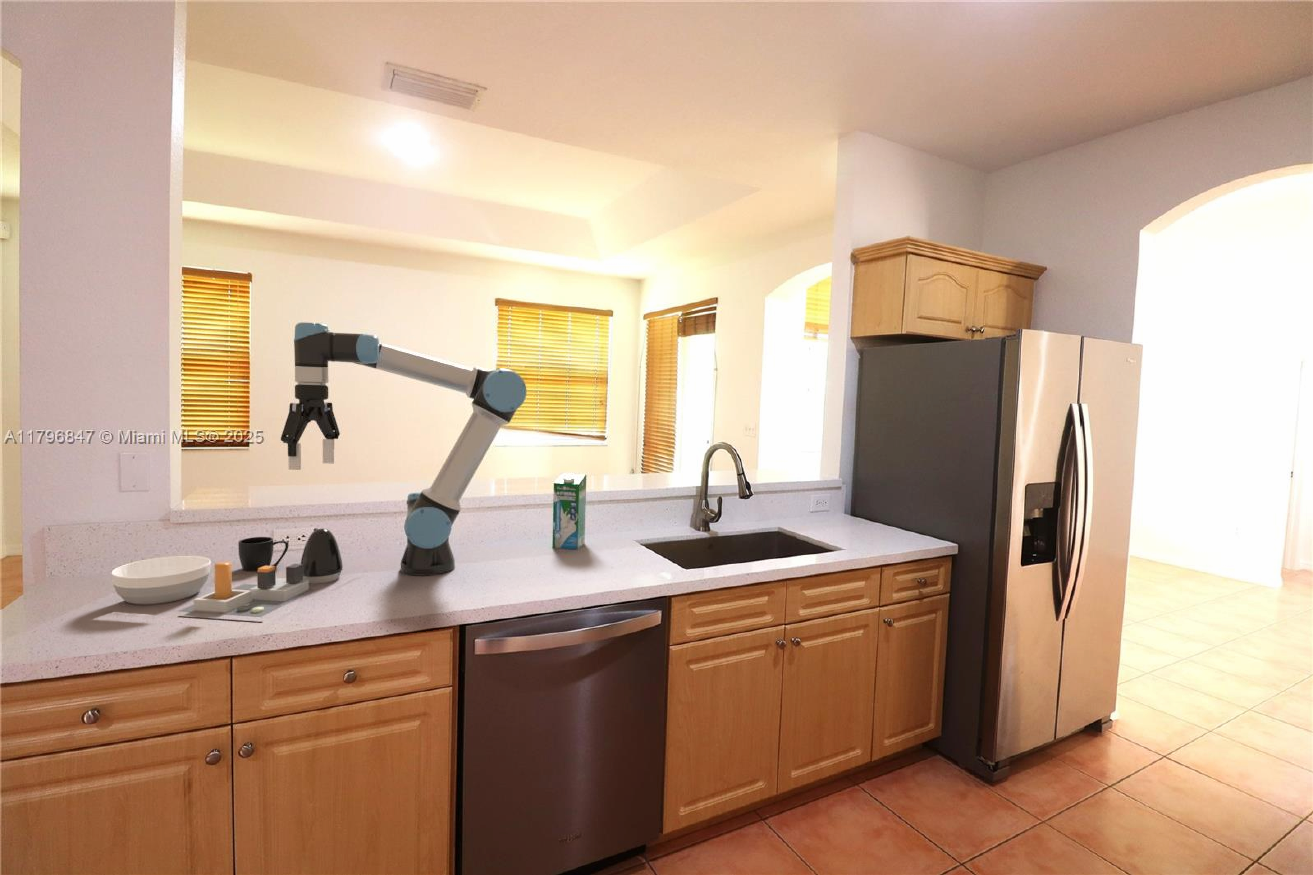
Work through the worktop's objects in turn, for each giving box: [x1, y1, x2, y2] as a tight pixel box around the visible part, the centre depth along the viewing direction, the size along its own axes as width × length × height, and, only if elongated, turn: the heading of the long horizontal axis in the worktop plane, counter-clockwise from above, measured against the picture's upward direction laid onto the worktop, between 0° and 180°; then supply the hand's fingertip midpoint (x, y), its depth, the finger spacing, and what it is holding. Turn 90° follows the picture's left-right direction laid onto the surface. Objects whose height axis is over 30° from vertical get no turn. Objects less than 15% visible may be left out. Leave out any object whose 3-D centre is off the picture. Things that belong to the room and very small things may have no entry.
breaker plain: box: [285, 563, 303, 583], centre depth 155 cm, size 2×3×4 cm
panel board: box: [177, 577, 316, 624], centre depth 150 cm, size 20×20×4 cm
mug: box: [237, 536, 290, 572], centre depth 174 cm, size 8×12×10 cm
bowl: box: [110, 555, 212, 606], centre depth 150 cm, size 19×19×9 cm
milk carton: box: [551, 472, 587, 550], centre depth 216 cm, size 9×9×25 cm
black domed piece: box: [300, 528, 344, 584], centre depth 166 cm, size 10×10×15 cm
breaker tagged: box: [256, 565, 277, 589], centre depth 150 cm, size 2×3×5 cm
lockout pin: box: [214, 561, 233, 600], centre depth 144 cm, size 3×3×10 cm
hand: (312, 466), depth 160 cm, fingers open, 13 cm apart
